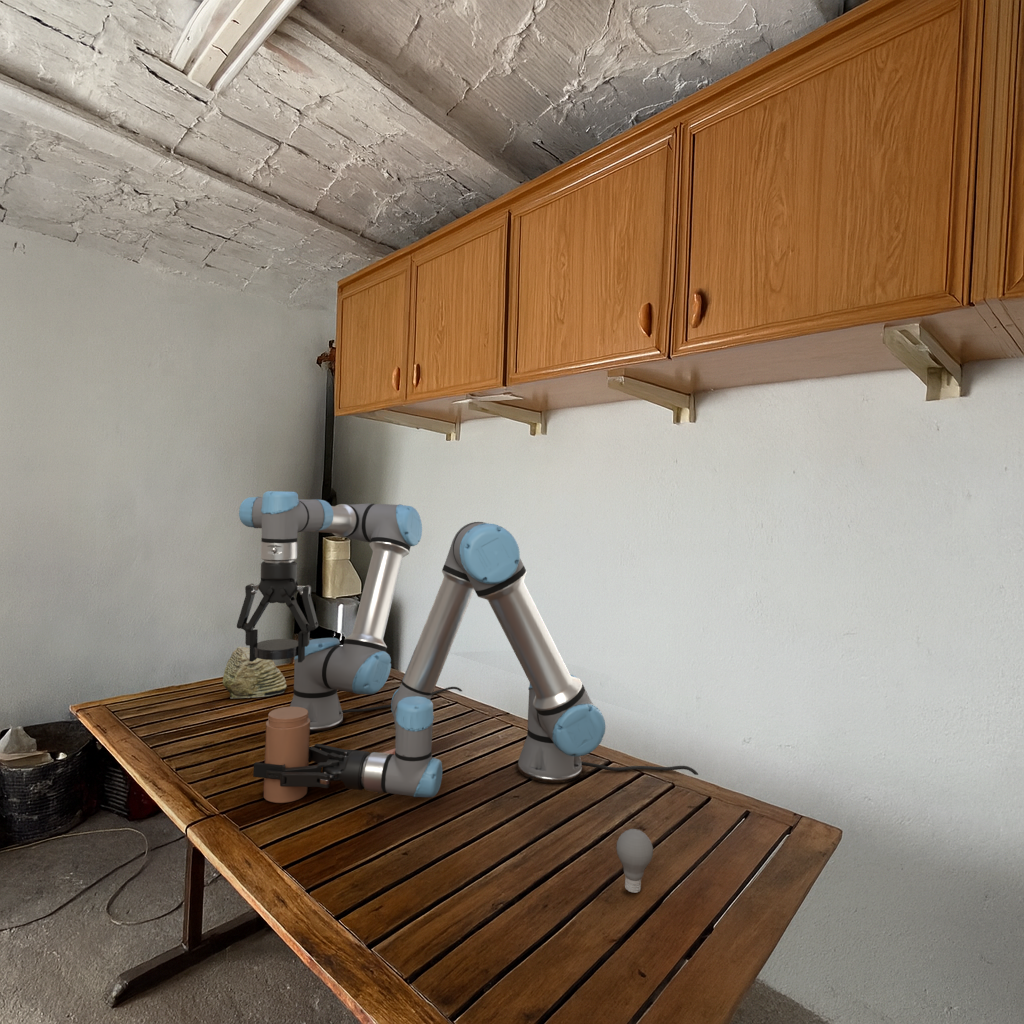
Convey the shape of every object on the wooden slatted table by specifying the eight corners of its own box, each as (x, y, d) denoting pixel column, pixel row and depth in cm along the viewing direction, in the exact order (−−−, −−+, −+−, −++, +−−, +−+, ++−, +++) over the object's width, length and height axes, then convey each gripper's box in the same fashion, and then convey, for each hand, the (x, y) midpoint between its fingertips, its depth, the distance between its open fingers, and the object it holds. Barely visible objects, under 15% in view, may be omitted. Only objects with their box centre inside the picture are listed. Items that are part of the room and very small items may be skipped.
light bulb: (610, 879, 108) (613, 822, 108) (644, 879, 109) (647, 822, 109) (619, 902, 102) (622, 840, 102) (655, 901, 103) (658, 840, 103)
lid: (260, 662, 134) (261, 652, 134) (247, 651, 142) (248, 642, 142) (307, 655, 140) (307, 646, 140) (292, 645, 148) (292, 636, 148)
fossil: (218, 695, 195) (220, 647, 195) (278, 685, 208) (279, 640, 207) (228, 703, 189) (230, 653, 188) (289, 692, 201) (290, 645, 201)
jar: (304, 781, 141) (307, 704, 140) (310, 798, 133) (313, 717, 132) (261, 787, 137) (264, 708, 137) (265, 806, 129) (268, 721, 129)
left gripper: (220, 561, 136) (219, 664, 137) (326, 564, 137) (324, 666, 138) (234, 557, 143) (232, 654, 144) (334, 560, 145) (332, 656, 146)
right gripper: (346, 814, 121) (237, 801, 125) (384, 767, 143) (290, 757, 146) (347, 775, 121) (238, 763, 125) (385, 734, 143) (292, 725, 146)
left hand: (277, 660), depth 141 cm, fingers closed on lid, 10 cm apart
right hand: (266, 760), depth 135 cm, fingers closed on jar, 9 cm apart
